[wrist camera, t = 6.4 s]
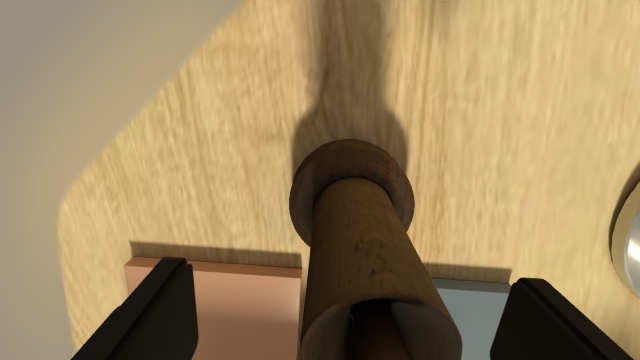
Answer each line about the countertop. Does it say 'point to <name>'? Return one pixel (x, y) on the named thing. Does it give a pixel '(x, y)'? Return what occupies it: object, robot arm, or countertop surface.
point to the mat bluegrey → (474, 312)
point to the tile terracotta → (239, 308)
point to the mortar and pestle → (365, 261)
